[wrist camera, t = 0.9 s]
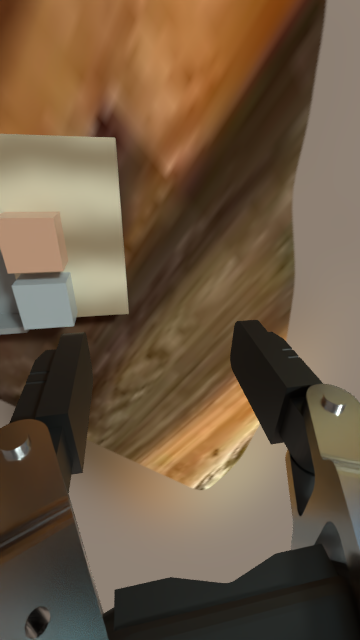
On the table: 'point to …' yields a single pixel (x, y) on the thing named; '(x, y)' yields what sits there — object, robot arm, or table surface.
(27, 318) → the blue gray block
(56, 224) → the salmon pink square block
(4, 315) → the tray
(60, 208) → the board
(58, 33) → the table surface
